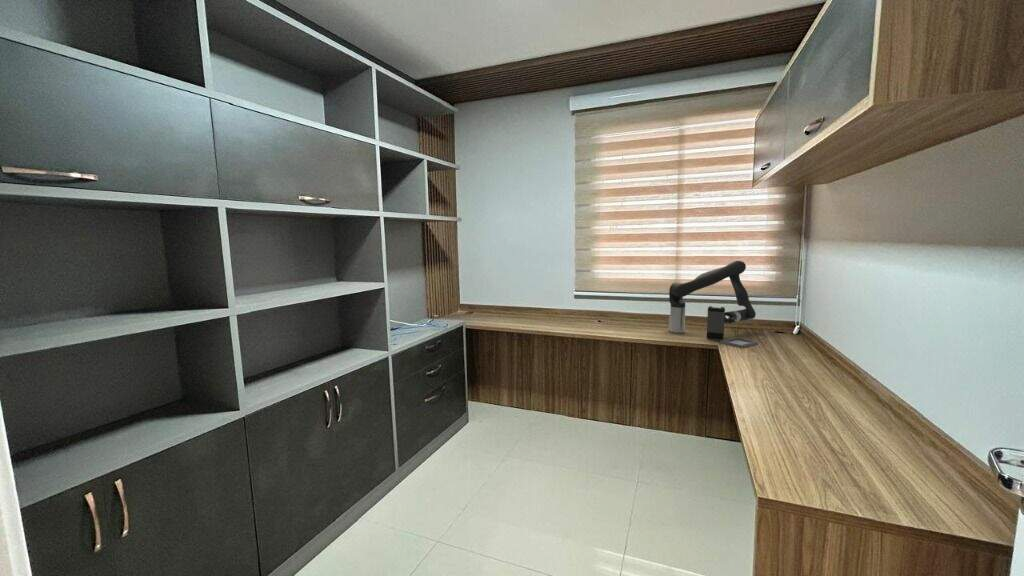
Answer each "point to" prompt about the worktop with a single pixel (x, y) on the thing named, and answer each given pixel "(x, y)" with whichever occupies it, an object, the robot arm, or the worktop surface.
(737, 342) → the charging dock
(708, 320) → the electronic device
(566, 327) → the worktop surface
